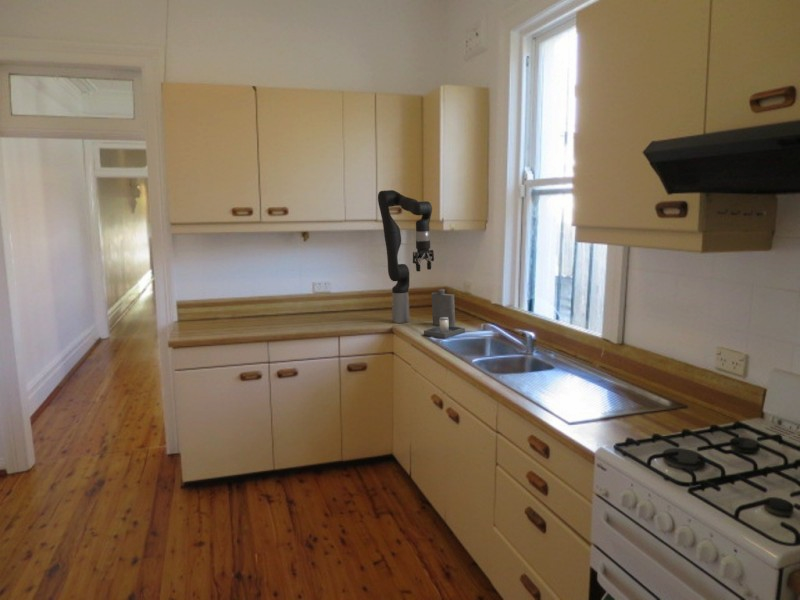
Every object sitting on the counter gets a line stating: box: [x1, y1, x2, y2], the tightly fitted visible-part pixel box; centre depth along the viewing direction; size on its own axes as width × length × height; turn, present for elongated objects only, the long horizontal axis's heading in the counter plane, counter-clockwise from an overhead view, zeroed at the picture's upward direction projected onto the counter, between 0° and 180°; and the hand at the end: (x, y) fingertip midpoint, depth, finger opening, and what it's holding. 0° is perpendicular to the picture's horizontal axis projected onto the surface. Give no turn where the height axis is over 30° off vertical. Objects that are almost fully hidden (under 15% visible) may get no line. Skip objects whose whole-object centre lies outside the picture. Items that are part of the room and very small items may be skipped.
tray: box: [423, 325, 466, 339], centre depth 293 cm, size 14×16×2 cm
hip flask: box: [431, 288, 456, 327], centre depth 312 cm, size 16×4×20 cm, turn 41°
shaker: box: [439, 317, 449, 333], centre depth 292 cm, size 5×5×8 cm
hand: (423, 270), depth 303 cm, fingers open, 8 cm apart
